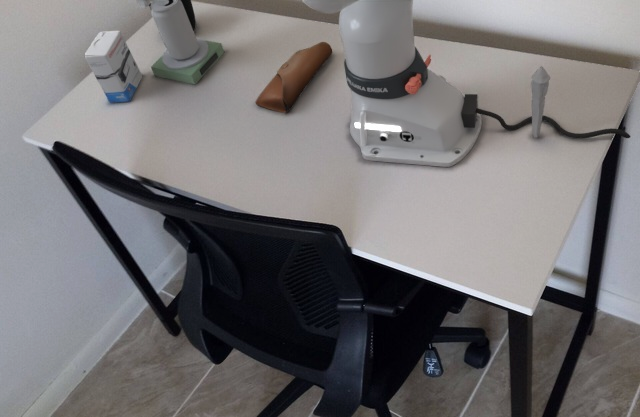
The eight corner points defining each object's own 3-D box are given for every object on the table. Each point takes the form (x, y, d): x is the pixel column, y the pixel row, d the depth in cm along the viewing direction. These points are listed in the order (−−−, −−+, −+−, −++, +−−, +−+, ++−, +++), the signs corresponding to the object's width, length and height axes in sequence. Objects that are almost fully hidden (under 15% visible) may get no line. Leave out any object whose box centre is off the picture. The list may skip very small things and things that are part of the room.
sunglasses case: (297, 48, 132) (305, 26, 127) (326, 66, 132) (336, 45, 127) (252, 105, 123) (259, 84, 117) (283, 124, 123) (292, 104, 117)
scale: (225, 52, 137) (221, 40, 135) (196, 84, 132) (191, 73, 130) (184, 45, 142) (180, 33, 140) (154, 76, 137) (149, 64, 135)
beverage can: (194, 61, 132) (173, 10, 123) (166, 62, 134) (143, 12, 125) (204, 42, 136) (184, -9, 127) (176, 44, 138) (155, -7, 129)
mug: (209, 24, 146) (194, -16, 138) (181, 47, 142) (164, 6, 135) (173, 14, 152) (157, -26, 145) (146, 35, 148) (128, -4, 141)
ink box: (130, 102, 132) (105, 54, 124) (108, 103, 133) (82, 56, 125) (143, 75, 138) (120, 28, 129) (122, 77, 139) (98, 30, 130)
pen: (535, 128, 106) (540, 58, 95) (548, 136, 104) (555, 65, 94) (524, 136, 105) (528, 66, 95) (537, 144, 103) (542, 74, 93)
